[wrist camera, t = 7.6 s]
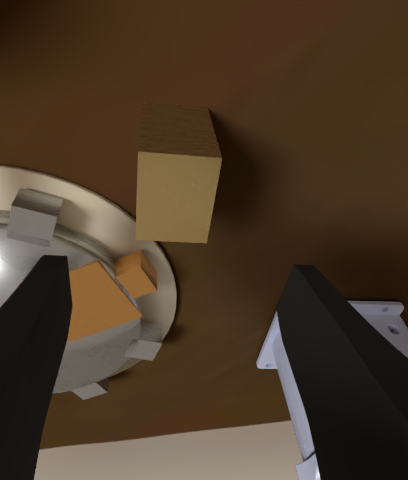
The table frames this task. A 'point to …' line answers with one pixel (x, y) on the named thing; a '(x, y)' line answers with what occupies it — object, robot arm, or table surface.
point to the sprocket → (82, 292)
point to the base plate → (99, 234)
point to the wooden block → (176, 173)
